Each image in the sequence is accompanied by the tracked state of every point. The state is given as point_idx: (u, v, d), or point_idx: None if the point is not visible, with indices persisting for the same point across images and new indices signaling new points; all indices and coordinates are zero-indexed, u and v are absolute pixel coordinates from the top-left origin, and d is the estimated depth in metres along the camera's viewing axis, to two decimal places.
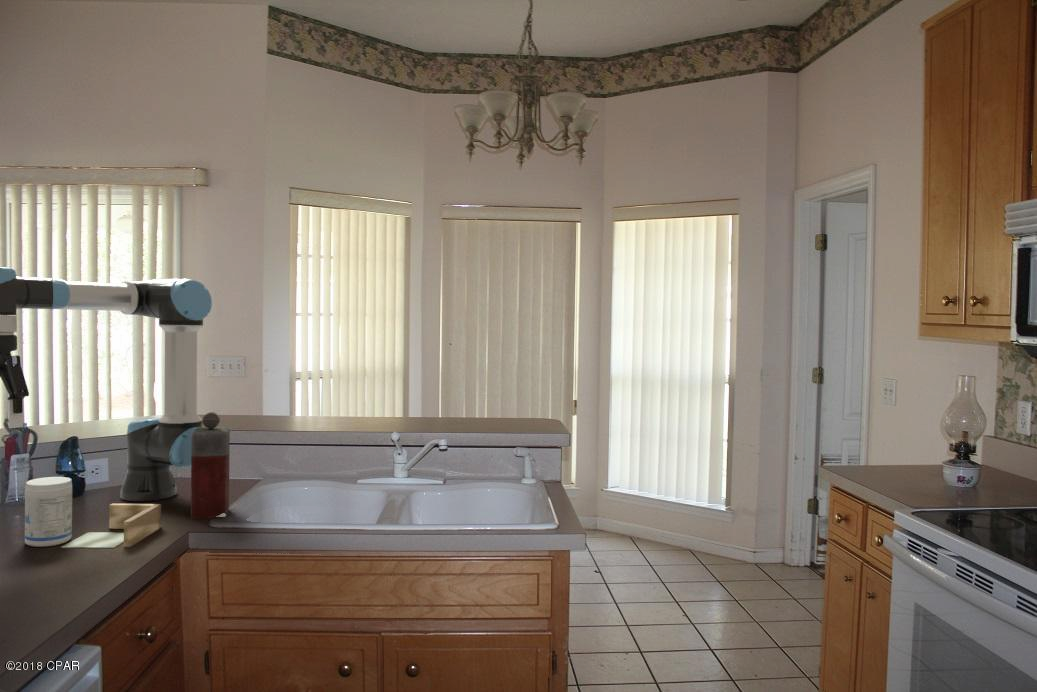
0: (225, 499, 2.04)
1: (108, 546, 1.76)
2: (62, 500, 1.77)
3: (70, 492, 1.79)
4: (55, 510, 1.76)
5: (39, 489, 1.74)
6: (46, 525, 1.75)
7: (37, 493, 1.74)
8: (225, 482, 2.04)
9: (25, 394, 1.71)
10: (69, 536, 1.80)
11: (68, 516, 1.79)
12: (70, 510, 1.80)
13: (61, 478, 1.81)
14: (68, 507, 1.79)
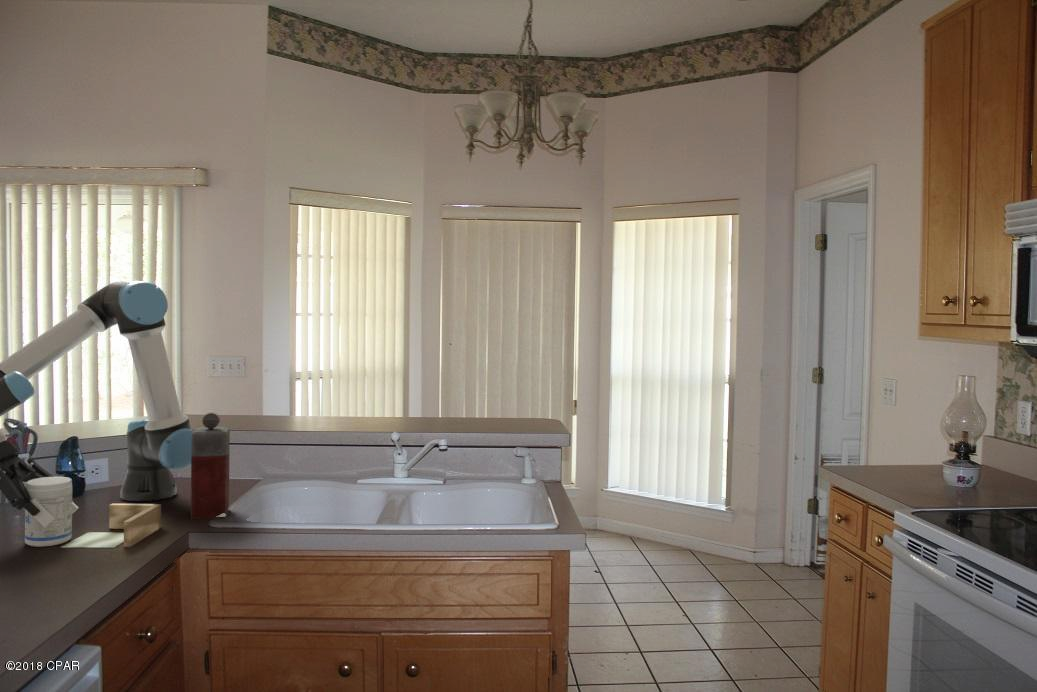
0: (225, 499, 2.04)
1: (108, 546, 1.76)
2: (63, 500, 1.77)
3: (70, 492, 1.79)
4: (55, 510, 1.76)
5: (39, 489, 1.74)
6: None
7: (37, 492, 1.74)
8: (225, 482, 2.04)
9: (18, 501, 1.70)
10: (69, 536, 1.80)
11: (68, 516, 1.79)
12: (70, 510, 1.80)
13: (61, 478, 1.81)
14: (68, 507, 1.79)
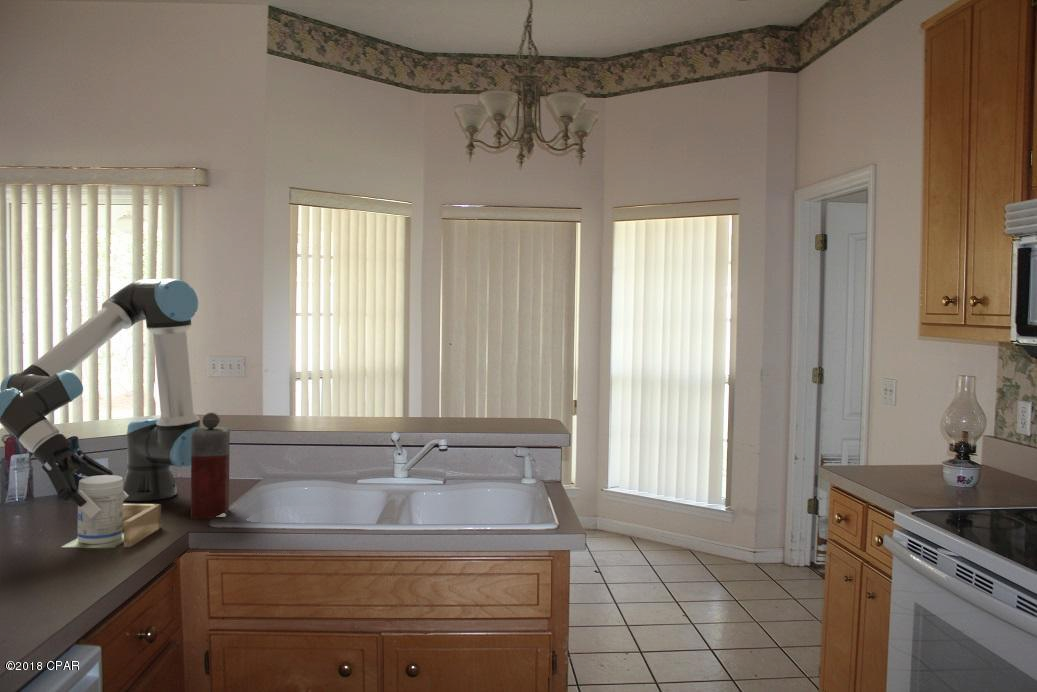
0: (225, 499, 2.04)
1: (108, 546, 1.76)
2: (115, 498, 1.79)
3: (121, 490, 1.81)
4: (108, 508, 1.78)
5: (93, 487, 1.76)
6: (99, 522, 1.77)
7: (91, 491, 1.76)
8: (225, 482, 2.04)
9: (65, 492, 1.70)
10: (120, 534, 1.82)
11: (119, 514, 1.81)
12: (121, 508, 1.82)
13: (112, 476, 1.83)
14: (119, 505, 1.80)
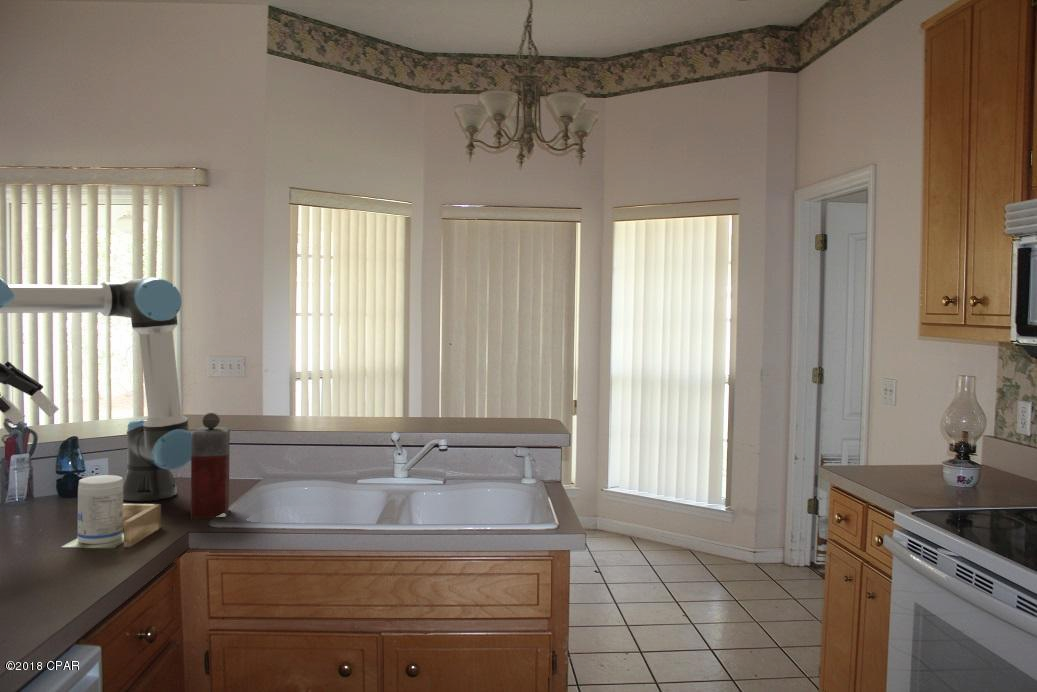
0: (225, 499, 2.04)
1: (108, 546, 1.76)
2: (115, 498, 1.79)
3: (121, 490, 1.81)
4: (108, 508, 1.78)
5: (92, 487, 1.76)
6: (99, 522, 1.77)
7: (91, 491, 1.76)
8: (225, 482, 2.04)
9: None
10: (120, 534, 1.82)
11: (119, 514, 1.81)
12: (121, 508, 1.82)
13: (112, 476, 1.83)
14: (119, 505, 1.80)
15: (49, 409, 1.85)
